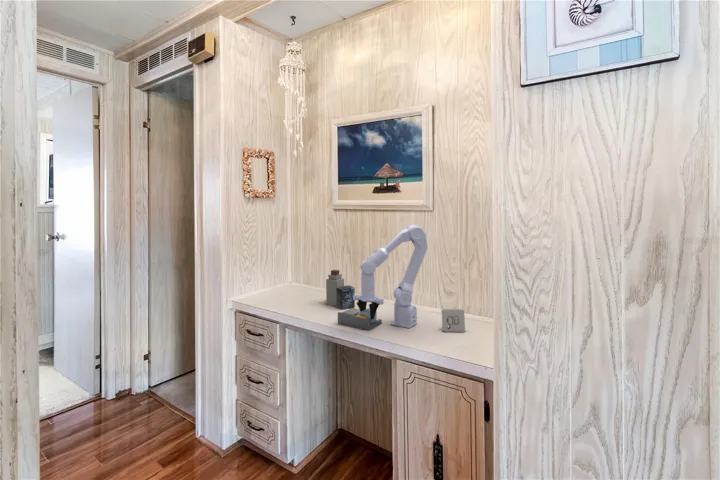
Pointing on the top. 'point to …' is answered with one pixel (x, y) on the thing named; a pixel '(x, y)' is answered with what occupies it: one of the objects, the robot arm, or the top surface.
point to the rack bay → (357, 320)
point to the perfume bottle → (333, 287)
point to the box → (345, 297)
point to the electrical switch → (453, 320)
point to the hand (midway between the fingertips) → (368, 318)
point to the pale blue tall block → (368, 314)
